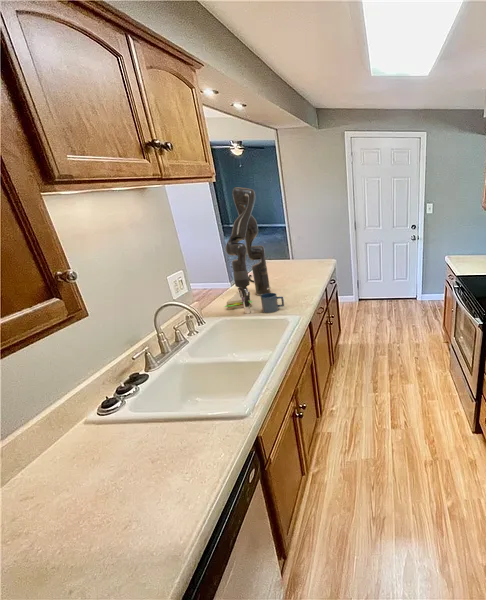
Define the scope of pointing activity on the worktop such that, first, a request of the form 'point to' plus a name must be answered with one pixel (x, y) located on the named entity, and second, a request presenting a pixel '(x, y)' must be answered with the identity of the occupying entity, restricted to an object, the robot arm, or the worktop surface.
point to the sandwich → (236, 302)
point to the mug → (270, 302)
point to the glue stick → (246, 307)
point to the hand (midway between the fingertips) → (246, 305)
